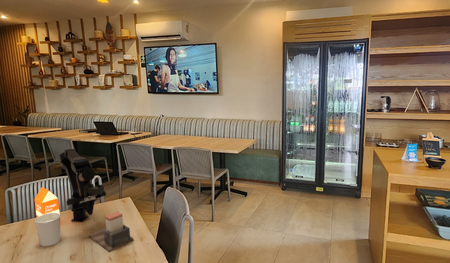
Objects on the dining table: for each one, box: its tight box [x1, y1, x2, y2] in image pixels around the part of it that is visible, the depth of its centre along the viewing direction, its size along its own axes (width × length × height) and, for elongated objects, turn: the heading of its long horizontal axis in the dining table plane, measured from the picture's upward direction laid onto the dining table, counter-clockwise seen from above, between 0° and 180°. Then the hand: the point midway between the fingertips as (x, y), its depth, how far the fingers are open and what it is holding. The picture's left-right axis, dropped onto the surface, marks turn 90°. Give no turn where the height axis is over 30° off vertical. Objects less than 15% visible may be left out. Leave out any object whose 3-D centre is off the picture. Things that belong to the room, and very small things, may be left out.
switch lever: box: [104, 211, 124, 234], centre depth 129 cm, size 4×6×12 cm
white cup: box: [34, 213, 62, 247], centre depth 130 cm, size 10×10×12 cm
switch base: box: [88, 224, 134, 253], centre depth 132 cm, size 19×12×7 cm, turn 51°
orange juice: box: [34, 186, 61, 226], centre depth 144 cm, size 8×9×20 cm
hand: (90, 215), depth 136 cm, fingers closed
